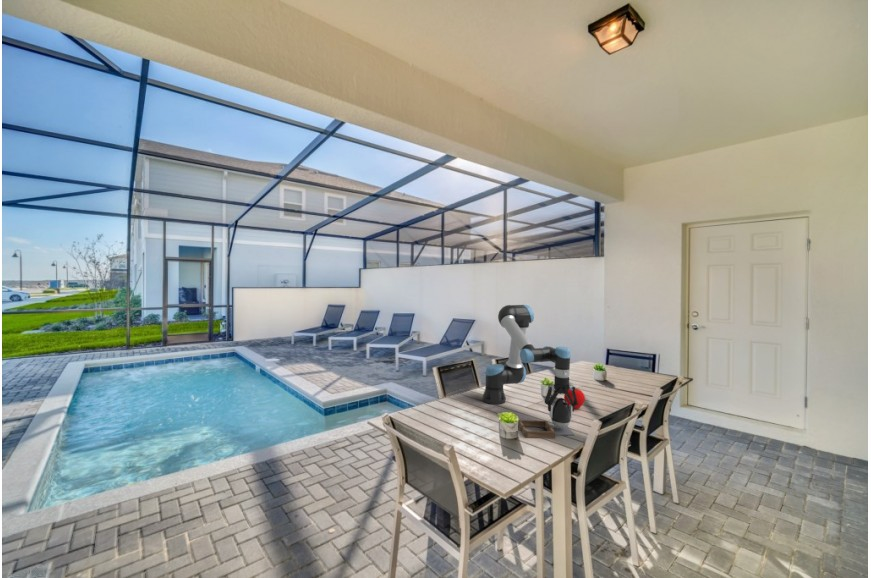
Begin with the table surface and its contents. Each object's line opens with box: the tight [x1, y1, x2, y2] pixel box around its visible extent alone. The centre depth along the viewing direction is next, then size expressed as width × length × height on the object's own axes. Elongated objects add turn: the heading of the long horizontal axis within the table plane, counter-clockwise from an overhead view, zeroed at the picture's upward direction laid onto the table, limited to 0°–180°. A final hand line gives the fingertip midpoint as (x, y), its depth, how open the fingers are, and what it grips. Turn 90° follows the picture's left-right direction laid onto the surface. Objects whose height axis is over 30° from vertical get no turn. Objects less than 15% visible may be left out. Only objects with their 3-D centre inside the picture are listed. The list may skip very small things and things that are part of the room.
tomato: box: [563, 388, 586, 410], centre depth 238 cm, size 12×12×13 cm
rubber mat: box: [549, 424, 575, 436], centre depth 203 cm, size 12×11×1 cm
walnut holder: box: [518, 419, 556, 439], centre depth 201 cm, size 15×15×3 cm
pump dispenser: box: [550, 397, 572, 428], centre depth 203 cm, size 10×10×15 cm
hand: (560, 417), depth 203 cm, fingers closed on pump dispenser, 10 cm apart
